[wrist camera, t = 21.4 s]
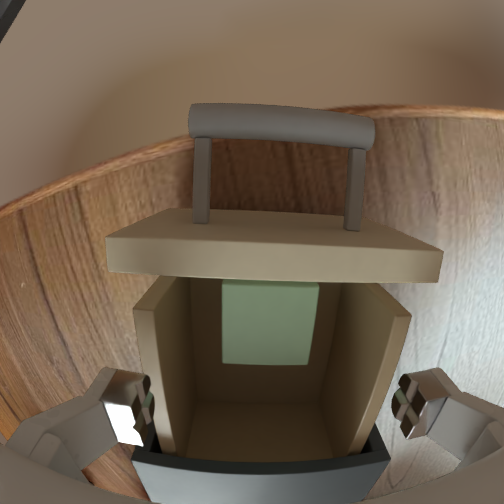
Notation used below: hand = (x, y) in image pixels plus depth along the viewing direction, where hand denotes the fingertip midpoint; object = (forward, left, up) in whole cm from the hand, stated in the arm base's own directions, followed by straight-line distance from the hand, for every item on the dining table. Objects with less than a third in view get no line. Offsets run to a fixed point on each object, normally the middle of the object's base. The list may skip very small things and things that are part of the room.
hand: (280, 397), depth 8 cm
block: (0, 0, -8) cm, 8 cm away
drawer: (0, 0, -9) cm, 9 cm away
